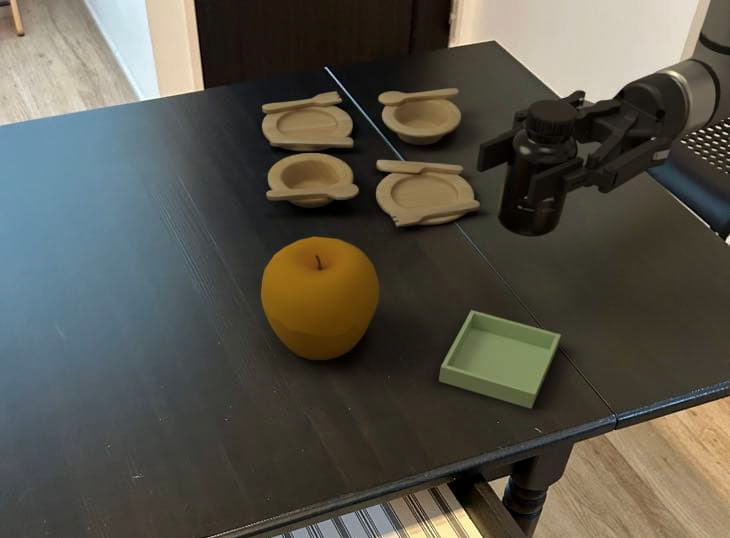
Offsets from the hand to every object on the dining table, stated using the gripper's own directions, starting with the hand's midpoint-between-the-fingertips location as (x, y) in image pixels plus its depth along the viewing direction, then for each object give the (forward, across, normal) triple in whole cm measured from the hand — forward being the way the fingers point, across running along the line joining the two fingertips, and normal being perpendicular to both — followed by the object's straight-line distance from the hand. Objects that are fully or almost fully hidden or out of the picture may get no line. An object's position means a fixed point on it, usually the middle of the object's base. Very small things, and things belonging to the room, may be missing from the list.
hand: (505, 174), depth 83 cm
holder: (+4, -8, -18) cm, 20 cm away
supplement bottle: (-5, 0, -7) cm, 9 cm away
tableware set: (-9, +35, -18) cm, 40 cm away
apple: (+18, +8, -18) cm, 26 cm away
